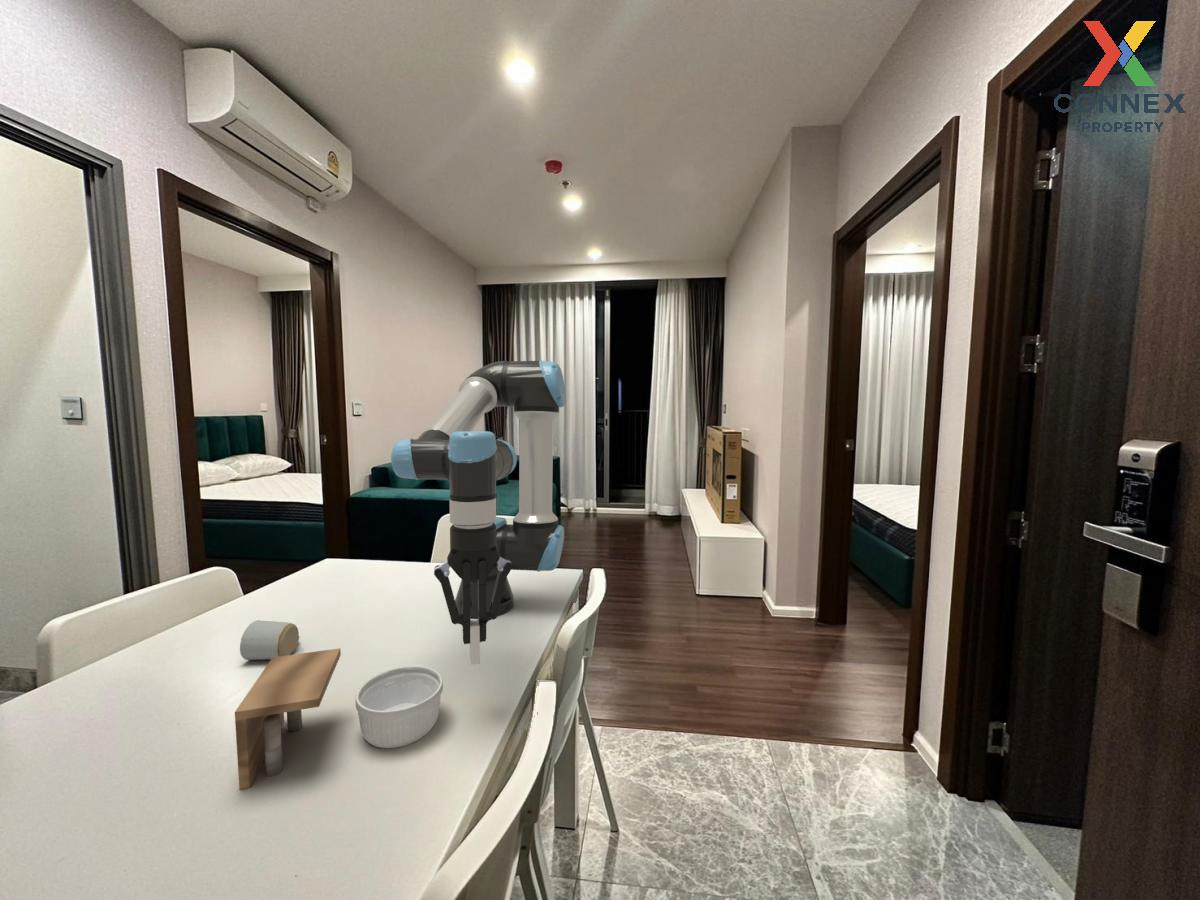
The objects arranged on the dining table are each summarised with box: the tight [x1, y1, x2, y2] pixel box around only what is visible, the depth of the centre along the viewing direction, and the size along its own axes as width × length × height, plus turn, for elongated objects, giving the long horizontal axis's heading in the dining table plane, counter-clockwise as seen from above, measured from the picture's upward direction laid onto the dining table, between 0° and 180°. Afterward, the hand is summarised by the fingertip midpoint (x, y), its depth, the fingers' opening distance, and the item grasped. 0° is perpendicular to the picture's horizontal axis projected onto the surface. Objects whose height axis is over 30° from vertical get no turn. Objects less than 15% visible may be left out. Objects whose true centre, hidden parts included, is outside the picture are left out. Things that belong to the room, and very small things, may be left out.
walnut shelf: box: [234, 648, 342, 790], centre depth 73 cm, size 10×15×11 cm, turn 18°
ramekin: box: [355, 665, 444, 749], centre depth 78 cm, size 13×13×7 cm
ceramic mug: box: [239, 619, 300, 661], centre depth 101 cm, size 11×8×8 cm
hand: (474, 660), depth 81 cm, fingers closed
